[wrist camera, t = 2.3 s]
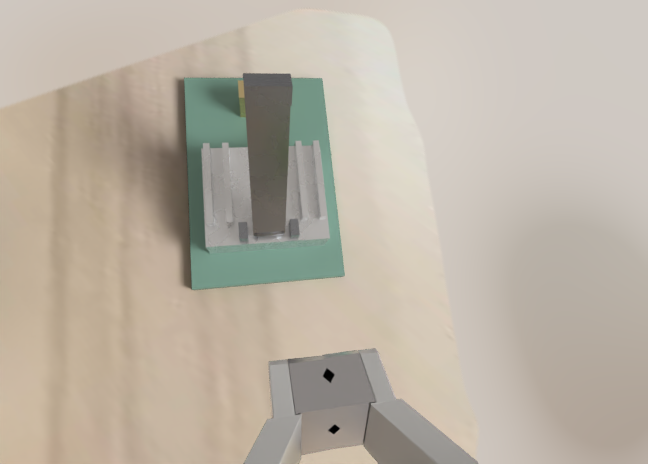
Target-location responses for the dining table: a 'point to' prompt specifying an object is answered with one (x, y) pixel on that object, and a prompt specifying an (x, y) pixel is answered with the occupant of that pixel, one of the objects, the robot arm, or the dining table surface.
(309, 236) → the silver and yellow blocks
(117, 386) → the dining table surface
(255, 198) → the block
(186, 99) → the circuit board
